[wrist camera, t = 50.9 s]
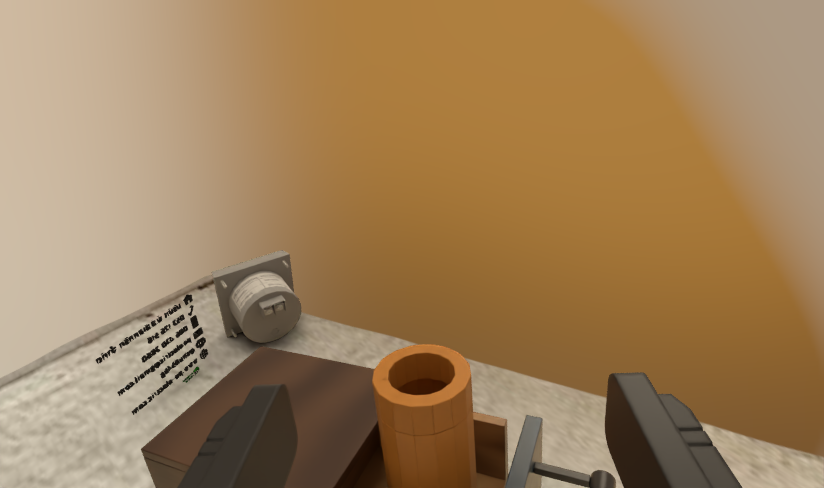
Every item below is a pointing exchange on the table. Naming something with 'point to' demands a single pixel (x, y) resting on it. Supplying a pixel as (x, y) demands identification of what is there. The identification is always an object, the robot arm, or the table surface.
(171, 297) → the table surface
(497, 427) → the drawer
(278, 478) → the robot arm
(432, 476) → the jar
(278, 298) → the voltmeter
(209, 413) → the cabinet
